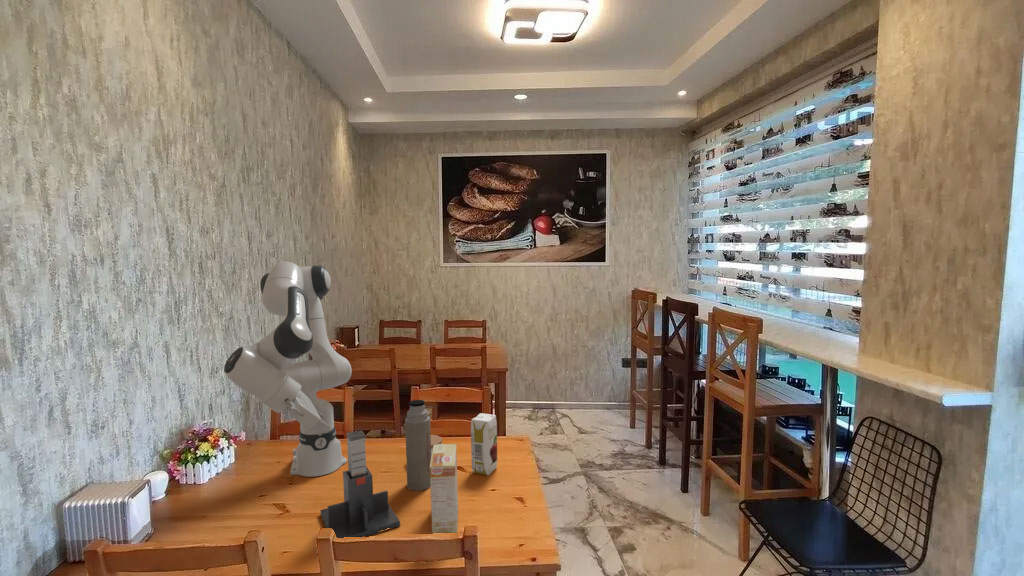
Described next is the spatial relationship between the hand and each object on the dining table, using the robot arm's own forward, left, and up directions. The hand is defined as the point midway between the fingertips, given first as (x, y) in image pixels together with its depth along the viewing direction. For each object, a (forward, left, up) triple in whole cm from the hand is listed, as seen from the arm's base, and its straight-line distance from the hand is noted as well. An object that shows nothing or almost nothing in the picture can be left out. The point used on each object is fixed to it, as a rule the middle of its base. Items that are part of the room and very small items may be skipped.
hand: (325, 424), depth 133 cm
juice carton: (-9, +53, -30) cm, 62 cm away
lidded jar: (-27, +39, -30) cm, 56 cm away
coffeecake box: (+13, +29, -30) cm, 44 cm away
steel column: (0, +8, -28) cm, 29 cm away
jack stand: (0, +8, -30) cm, 31 cm away
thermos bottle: (-11, +30, -30) cm, 44 cm away
